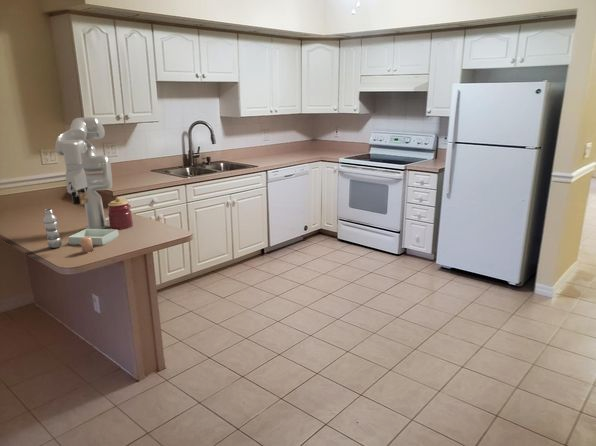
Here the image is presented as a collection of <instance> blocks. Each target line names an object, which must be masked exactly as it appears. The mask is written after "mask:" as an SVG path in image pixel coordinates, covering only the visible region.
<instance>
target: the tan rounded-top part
mask: <svg viewBox="0 0 596 446" xmlns="http://www.w3.org/2000/svg"><path fill="white" fill-rule="evenodd" d="M80 241H81V245H80V246H81V250H82V251H81V252H82V254H89V253H88V252H91V253H93V252H94V245H92V239H91V237H83V238H81V239H80ZM92 251H93V252H92Z"/></svg>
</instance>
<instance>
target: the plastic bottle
mask: <svg viewBox="0 0 596 446" xmlns="http://www.w3.org/2000/svg"><path fill="white" fill-rule="evenodd" d="M42 222H43V225H44V228H45V231H46V238H47V240H46V241H47V246H48V247H49V248H50V249H56V248H59V247H61V246H62V244H63V243H62V239H61V237H60V233H59V232H60V231H59V227H58V217H57V216H56V215H55V214H54V211H53V209H52V208H46V209H44V217H43V220H42Z"/></svg>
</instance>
